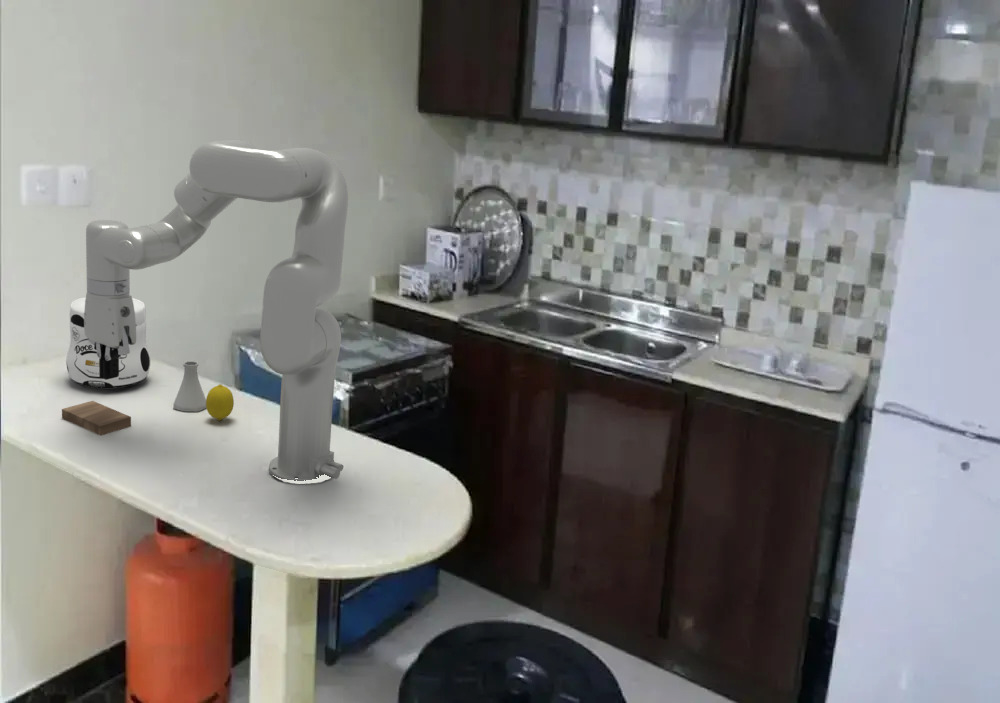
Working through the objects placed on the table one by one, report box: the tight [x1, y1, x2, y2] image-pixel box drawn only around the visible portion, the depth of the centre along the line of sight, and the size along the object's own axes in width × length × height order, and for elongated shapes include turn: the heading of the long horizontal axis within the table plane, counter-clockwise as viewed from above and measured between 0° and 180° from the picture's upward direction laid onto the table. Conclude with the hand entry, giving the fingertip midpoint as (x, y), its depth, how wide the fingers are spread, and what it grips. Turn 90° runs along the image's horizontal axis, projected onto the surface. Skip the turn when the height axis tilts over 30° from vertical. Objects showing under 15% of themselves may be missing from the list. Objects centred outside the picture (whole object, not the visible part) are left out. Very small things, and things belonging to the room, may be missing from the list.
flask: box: [172, 360, 207, 412], centre depth 199 cm, size 7×7×10 cm
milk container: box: [65, 296, 151, 390], centre depth 206 cm, size 17×17×18 cm
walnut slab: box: [61, 400, 132, 437], centre depth 187 cm, size 2×7×12 cm
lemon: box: [205, 384, 235, 422], centre depth 193 cm, size 6×6×8 cm
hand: (109, 377), depth 182 cm, fingers closed
